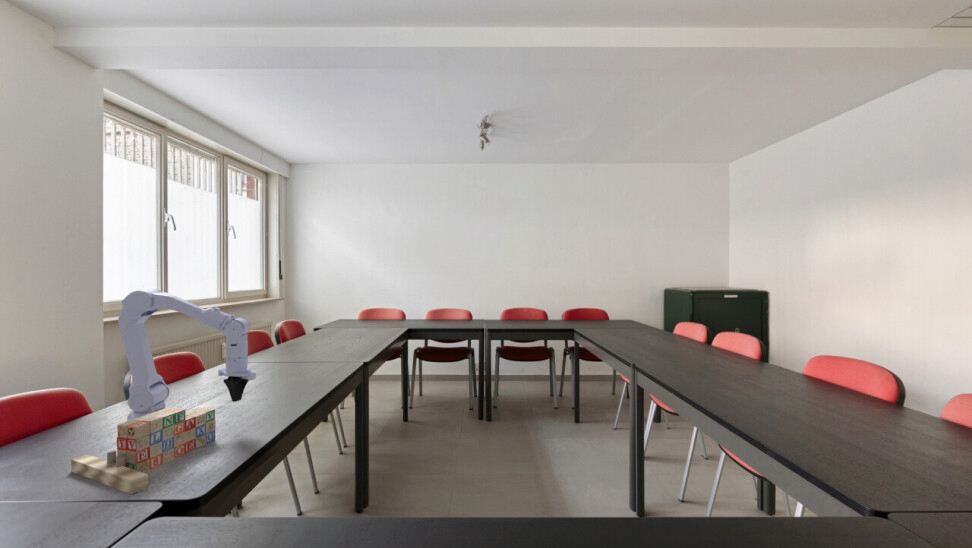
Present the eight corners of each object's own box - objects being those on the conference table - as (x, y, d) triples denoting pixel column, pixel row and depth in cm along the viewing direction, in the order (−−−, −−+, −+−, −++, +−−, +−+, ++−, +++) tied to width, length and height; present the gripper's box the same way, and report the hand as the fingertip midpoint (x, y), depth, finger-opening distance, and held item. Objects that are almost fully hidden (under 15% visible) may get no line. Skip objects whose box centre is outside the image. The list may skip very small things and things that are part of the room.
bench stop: (71, 471, 96) (71, 449, 96) (91, 464, 99) (91, 443, 99) (131, 494, 86) (132, 469, 86) (152, 486, 89) (152, 462, 89)
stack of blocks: (198, 438, 116) (198, 397, 116) (215, 440, 114) (216, 398, 114) (116, 474, 95) (116, 423, 95) (136, 477, 94) (136, 426, 94)
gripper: (264, 356, 122) (264, 399, 122) (233, 352, 128) (233, 394, 128) (243, 361, 116) (243, 406, 116) (211, 357, 121) (211, 400, 121)
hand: (236, 400), depth 121 cm, fingers closed
